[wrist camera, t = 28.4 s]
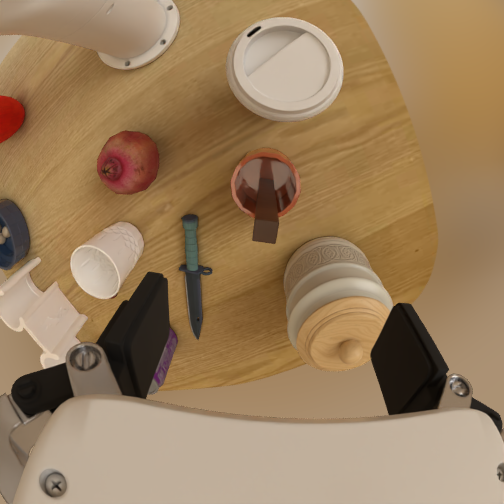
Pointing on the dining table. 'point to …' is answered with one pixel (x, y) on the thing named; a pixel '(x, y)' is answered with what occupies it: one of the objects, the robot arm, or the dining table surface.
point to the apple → (10, 117)
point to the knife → (193, 274)
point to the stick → (266, 213)
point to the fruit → (128, 162)
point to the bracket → (40, 314)
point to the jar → (334, 304)
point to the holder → (266, 167)
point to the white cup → (107, 259)
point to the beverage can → (164, 363)
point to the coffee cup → (284, 69)
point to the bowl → (13, 235)
